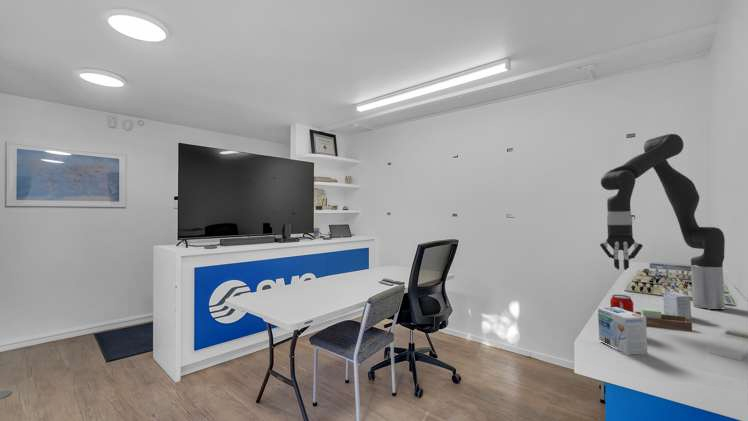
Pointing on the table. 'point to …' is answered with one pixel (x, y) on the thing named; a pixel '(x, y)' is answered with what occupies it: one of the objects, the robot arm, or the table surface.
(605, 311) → the light bulb box
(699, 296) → the robot arm
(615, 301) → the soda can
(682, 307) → the medicine box
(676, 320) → the walnut chute
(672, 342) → the table surface
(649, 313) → the sage block
